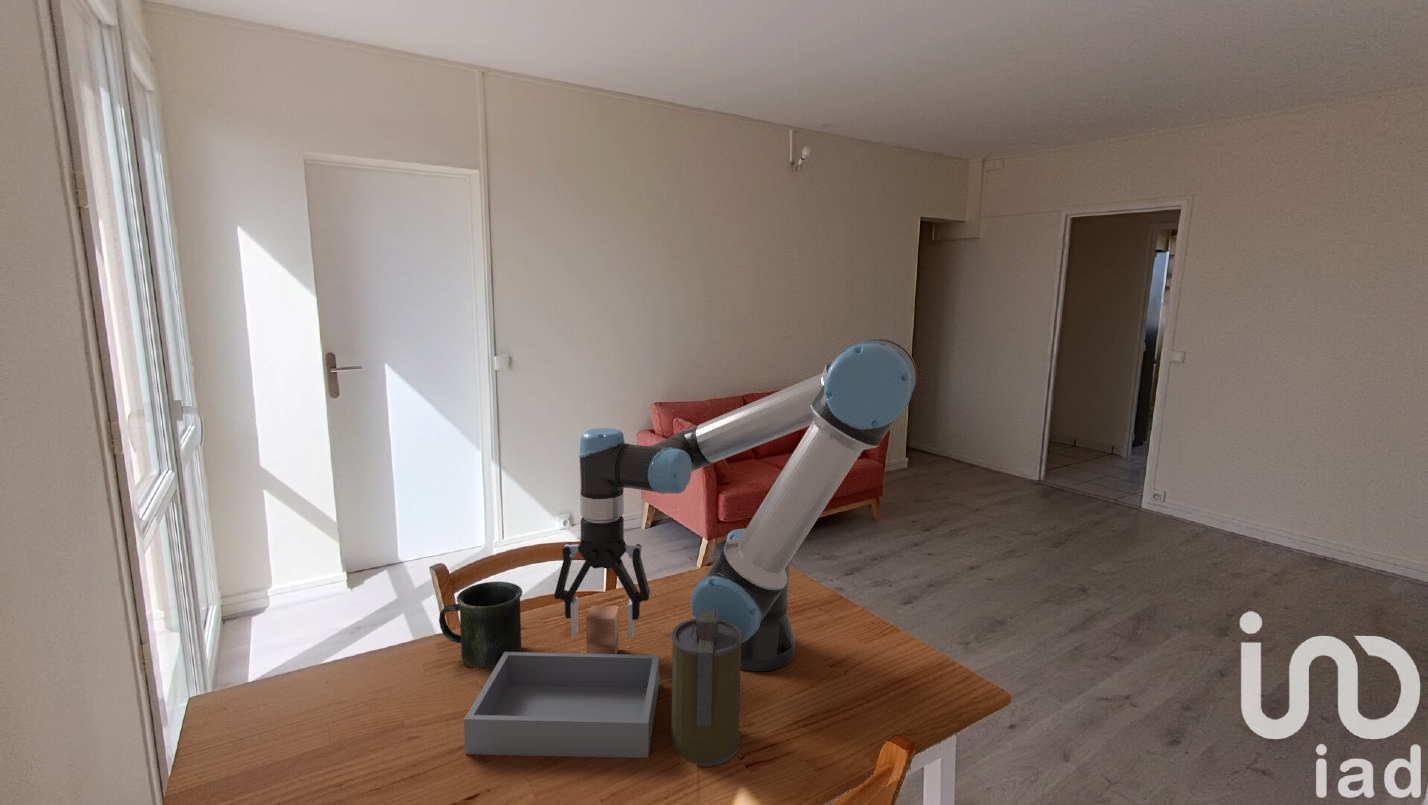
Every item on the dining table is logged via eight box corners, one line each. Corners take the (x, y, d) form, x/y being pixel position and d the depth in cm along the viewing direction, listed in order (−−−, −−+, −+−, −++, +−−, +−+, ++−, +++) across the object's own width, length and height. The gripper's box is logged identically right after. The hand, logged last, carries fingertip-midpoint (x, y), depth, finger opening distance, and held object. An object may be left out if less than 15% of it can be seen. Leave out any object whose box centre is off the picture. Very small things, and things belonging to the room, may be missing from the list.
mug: (517, 671, 116) (515, 606, 114) (431, 673, 115) (428, 608, 113) (528, 639, 127) (527, 580, 125) (450, 641, 125) (447, 582, 123)
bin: (658, 688, 112) (659, 655, 111) (647, 761, 94) (648, 723, 93) (505, 684, 112) (504, 651, 111) (465, 757, 94) (463, 719, 93)
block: (618, 651, 123) (618, 606, 122) (614, 666, 118) (614, 619, 117) (592, 650, 123) (591, 605, 122) (586, 665, 118) (586, 618, 117)
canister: (673, 719, 103) (674, 599, 100) (739, 722, 103) (743, 602, 100) (665, 768, 93) (667, 635, 90) (740, 771, 92) (744, 638, 89)
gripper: (666, 510, 120) (665, 625, 124) (544, 508, 120) (547, 623, 124) (663, 524, 113) (662, 646, 116) (533, 522, 113) (536, 644, 116)
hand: (602, 634), depth 120 cm, fingers open, 9 cm apart
